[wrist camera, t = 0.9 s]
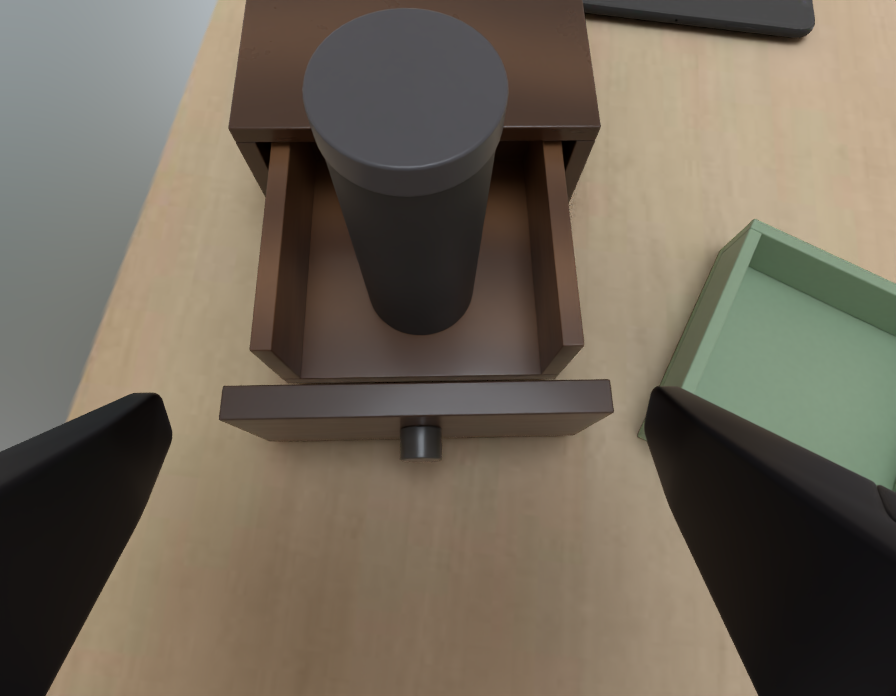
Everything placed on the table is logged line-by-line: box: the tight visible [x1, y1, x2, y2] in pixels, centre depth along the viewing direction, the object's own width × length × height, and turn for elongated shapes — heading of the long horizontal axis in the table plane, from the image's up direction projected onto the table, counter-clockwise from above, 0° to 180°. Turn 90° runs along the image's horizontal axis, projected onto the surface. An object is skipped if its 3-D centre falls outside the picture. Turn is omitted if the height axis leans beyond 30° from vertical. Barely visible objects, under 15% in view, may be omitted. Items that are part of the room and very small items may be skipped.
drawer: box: [219, 141, 614, 462], centre depth 21 cm, size 16×13×5 cm
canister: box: [302, 8, 508, 335], centre depth 18 cm, size 5×5×12 cm
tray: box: [638, 219, 896, 492], centre depth 22 cm, size 11×11×3 cm
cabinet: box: [229, 0, 601, 204], centre depth 25 cm, size 16×15×7 cm
